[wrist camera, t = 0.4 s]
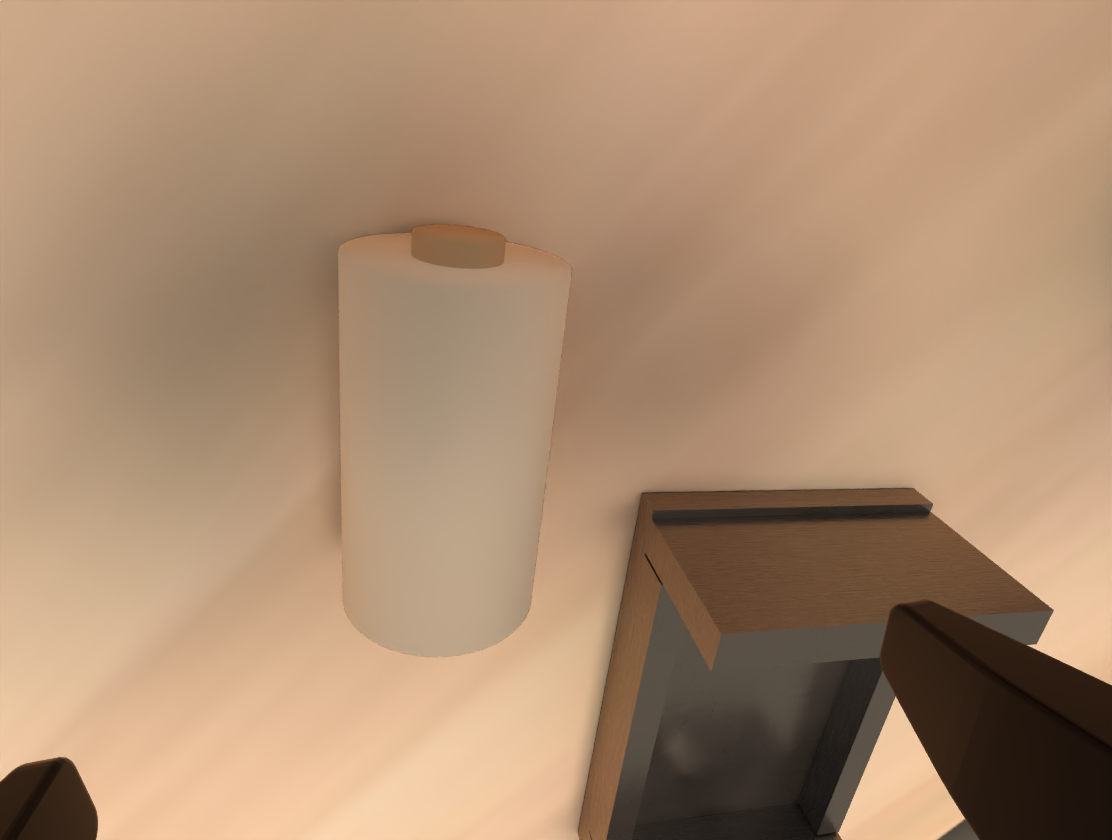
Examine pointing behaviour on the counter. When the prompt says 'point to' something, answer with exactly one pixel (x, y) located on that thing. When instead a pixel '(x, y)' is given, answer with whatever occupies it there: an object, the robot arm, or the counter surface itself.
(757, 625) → the holder
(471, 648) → the roll
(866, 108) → the counter surface
